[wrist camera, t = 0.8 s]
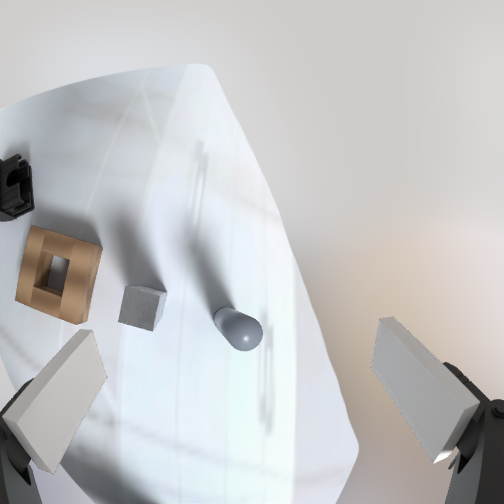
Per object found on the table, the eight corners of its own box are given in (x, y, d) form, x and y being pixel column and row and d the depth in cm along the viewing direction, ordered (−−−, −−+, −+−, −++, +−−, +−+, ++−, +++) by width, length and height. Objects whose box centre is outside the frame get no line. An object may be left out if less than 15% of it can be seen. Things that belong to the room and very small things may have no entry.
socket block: (87, 321, 39) (76, 324, 34) (29, 299, 37) (15, 300, 32) (102, 248, 41) (94, 243, 36) (44, 230, 39) (31, 225, 34)
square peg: (161, 317, 42) (152, 331, 29) (137, 310, 42) (118, 321, 28) (167, 292, 43) (160, 295, 30) (142, 286, 42) (125, 286, 29)
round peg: (235, 334, 45) (258, 353, 31) (211, 329, 44) (224, 347, 30) (241, 310, 45) (266, 320, 32) (216, 304, 45) (231, 313, 31)
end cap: (3, 177, 37) (-14, 164, 31) (31, 163, 39) (15, 148, 33) (6, 225, 37) (-13, 217, 30) (35, 212, 39) (17, 201, 32)
